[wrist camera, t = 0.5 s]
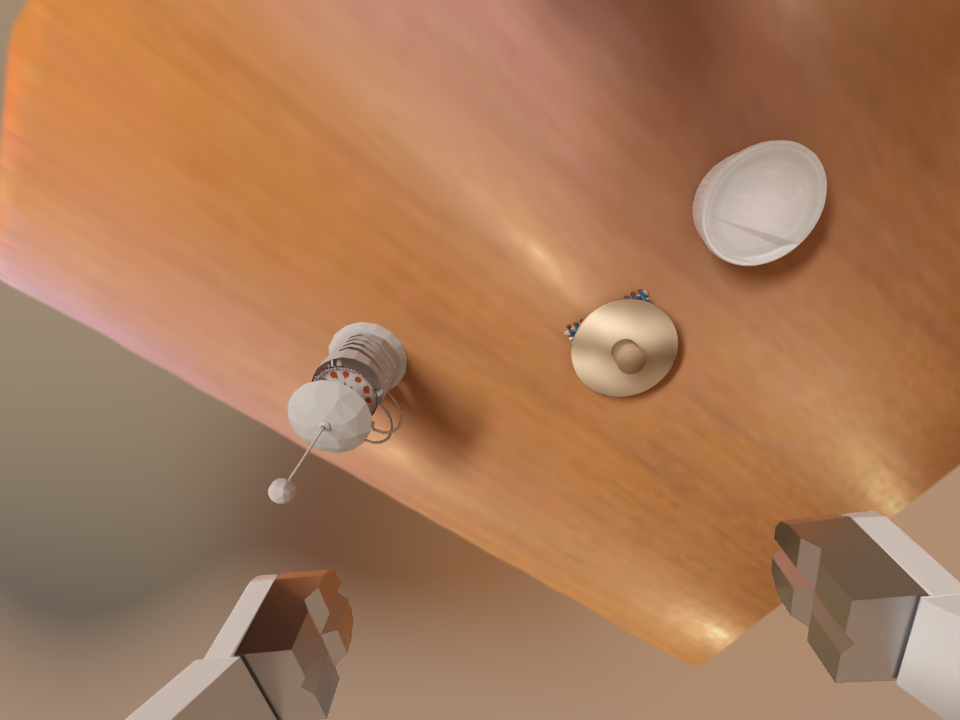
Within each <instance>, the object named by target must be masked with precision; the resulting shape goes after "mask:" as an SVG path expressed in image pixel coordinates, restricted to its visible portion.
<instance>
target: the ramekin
mask: <svg viewBox="0 0 960 720" xmlns="http://www.w3.org/2000/svg"><path fill="white" fill-rule="evenodd" d="M826 195H827V178H826V173H825V170H824V167H823V165H822V163H821V161H820V160H819V158H818V157H817V155H816V154H815V153H814V152H813V151H811V150H810V149H809V148H807V147H806V146H804V145H802V144H799V143H797V142H794V141H788V140H773V141H766V142H761V143H758V144H755V145H752V146H750V147H748V148H746V149H744V150H742V151H740V152H738V153H735V154H733V155H731V156H729V157H726V158H725V159H724V160H722V161H720V162H719V163H718V164H717V165H715V166H714V167H713V168H712V169H711V170H710V171H709V172H708V173H707V175H706V176H705V177H704V178H703V180H702V182H701V183H700V184H699V187H698V189H697V191H696V194H695V197H694V201H693V209H692V213H693V215H692V216H693V222H694V224H695V228H696V230H697V232H698V234H699V235H700V237H701V238H702V239H703V241H704V243H705V245H706V246H707V247H708V249H709V250H710V251H711V252H712V253H713V254H714V255H716V256H717V257H718V258H720V259H722V260H724V261H726V262H728V263H731V264H735V265H740V266H757V265H762V264H766V263H769V262H772V261H775V260H777V259H779V258H781V257H783V256H785V255H786V254H788V253H789V252H791V251H792V250H794V249H795V248H796V247H797V246H798V245H799V244H801V242H803V240H804V239H805V238H806V237H807V236H808V235H809V234H810V232H811V231H812V230H813V228H814V227H815V225H816V223H817V222H818V220H819V218H820V216H821V213H822V211H823V208H824V205H825V201H826Z"/></svg>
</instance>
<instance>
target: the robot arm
mask: <svg viewBox="0 0 960 720" xmlns="http://www.w3.org/2000/svg"><path fill="white" fill-rule="evenodd" d="M774 539H775V540H776V541H777V543H778V544H779V545H780V547H781V549H780V550H779V551H778V552H777V553H776V554H775V555H774V556H773V557H772V575H773V579H774V583H775V587H776V590H777V592H778V594H779V596H780V598H781V601H782V602H783V604H784V605H785V607H786V609H787V610H788V612H789V613H790V615H791V616H793V617H794V618H796V619H797V620H799V621H801V622H802V623H804V624H805V625H807V626H808V627H809V631H808V642H809V644H810V645H811V647H812V648H813V650H814V651H815V653H816V654H817V656H818V657H819V659H820V660H821V662H822V663H823V665H824V666H825V668H826V669H827V671H828V672H829V674H830V675H831V677H832V678H833V680H834V681H835V683H843V682H868V681H892V680H897V681H896V684H897V685H898V686H900V687H901V688H902V689H904V690H905V691H906V692H908V693H909V694H910V695H912V696H913V697H914V698H916V699H917V700H918V701H920V702H921V703H922V704H924V705H925V706H926V707H928V708H929V709H930V710H932V711H933V712H934V713H936V714H937V715H938V716H940V717H941V718H943V719H944V720H960V582H959V581H958V580H957V579H956V578H955V577H954V576H952V575H951V574H950V573H949V572H948V571H947V570H946V569H945V568H943V567H942V566H941V565H940V564H939V563H938V562H936V560H934V559H933V558H932V557H931V556H930V555H929V554H928V553H927V552H925V551H924V550H923V549H922V548H921V547H920V546H919V545H918V544H916V543H915V542H914V541H913V540H912V539H911V538H910V537H909V536H907V535H906V534H905V533H904V532H903V531H902V530H901V529H900V528H898V527H897V526H896V525H895V524H894V523H893V522H892V521H891V520H889V519H888V518H887V517H886V516H885V515H883V514H881V513H879V512H877V511H875V510H873V511H864V512H856V513H847V514H841V515H828V516H820V517H811V518H803V519H794V520H786V521H780V522H779V523H778V524H777V526H776V527H775V535H774ZM340 584H341V582H340V580H339V578H338V576H337V574H336V571H335V570H318V571H305V572H292V573H282V574H273V575H260V576H257V577H256V578H255V579H253V580H252V581H251V582H250V583H249V584H248V586H247V588H246V589H245V591H244V593H243V595H242V596H241V598H240V599H239V601H238V603H237V604H236V606H235V608H234V609H233V611H232V613H231V614H230V616H229V618H228V619H227V621H226V622H225V624H224V626H223V627H222V629H221V631H220V632H219V634H218V636H217V637H216V639H215V641H214V642H213V644H212V646H211V647H210V649H209V651H208V652H207V654H206V656H205V658H204V659H202V660H195V661H194V662H193V663H192V664H190V665H189V666H188V667H187V668H186V669H184V670H183V671H182V672H181V673H180V674H179V675H177V676H176V677H175V678H174V679H173V680H171V681H170V682H169V683H168V684H167V685H165V686H164V687H163V688H162V689H161V690H160V691H158V692H157V693H156V694H155V695H154V696H153V697H151V698H150V699H149V700H148V701H146V702H145V703H144V704H143V705H142V706H141V707H139V708H138V709H137V710H136V711H135V712H134V713H132V714H131V715H130V716H129V717H127V718H126V719H125V720H320V719H327V716H328V713H329V710H330V707H331V704H332V700H333V697H334V694H335V691H336V688H337V684H338V681H339V676H338V673H337V670H336V667H335V666H336V665H337V664H338V663H339V662H340V661H341V659H342V658H343V657H344V656H345V655H346V654H347V652H348V649H349V645H350V642H351V638H352V626H353V616H352V610H351V606H350V604H349V601H348V599H347V598H345V597H344V596H343V595H341V594H340V593H338V589H339V587H340Z"/></svg>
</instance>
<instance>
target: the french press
mask: <svg viewBox="0 0 960 720" xmlns="http://www.w3.org/2000/svg"><path fill="white" fill-rule="evenodd" d="M328 364H329V367H328V368H327V365H328ZM406 365H407V356H406V354H405V351H404V348H403V345H402V343H401V342H400V341H399V340H398V339H397V338H396V336H395V335H394V334H393V333H392V332H391V331H389V330H387V329H385V328H383V327H381V326H380V325H378V324H373V323H365V322H359V323H355V324H350V325H346V326H345V327H344V328H342V329H341V330H340V331H339V332H337V333H336V334H335V335H334V337H333V339H332V341H331V343H330V346H329V356H328V357H327V358H326V359H325V360H324V361H323V362H322V364H321V365H320V366H319V367H318V368H317V370H316V372H315V374H314V376H313V380H312V382H308V383H306V384H304V385H303V386H302V387H300V388H299V389H297V390H296V391H295V392H294V393H293V395H292V397H291V399H290V401H289V403H288V419H289V421H290V423H291V425H292V427H293V429H294V432H295V433H296V434H297V435H298V436H299V437H300V438H301V439H302V440H303V441H304V442H305V443H307V444H309V445H310V447H309V448H308V450H307V451H306V453H305V455H304V456H303V458H302V459H301V461H300V463H299V464H298V465H297V467H296V468H295V470H294V471H293V473H292V474H291V476H290V478H289V479H288V480H287V479H277V480H275V481H274V482H273V483H272V484H271V486H270V487H269V489H268V494H269V497H270V499H271V500H272V501H274V502H276V503H278V504H285V503H286V502H288V501H289V500H291V499H292V498H293V497H294V495H295V493H296V487H295V486H294V484H293V483H291V479H292V478H293V476H294V475H295V473H296V472H297V470H298V468H299V467H300V465H301V464H302V462H303V461H304V459H305V458H306V456H307V455H308V453H309V451H310V450H311V448H312V447H315V448H317V449H319V450H321V451H327V452H334V453H340V452H345V451H350V450H353V449H355V448H356V447H358V446H359V445H361V444H362V443H364V441H366V442H370V443H373V444H379V443H383V442H385V441H387V440H388V439H390V437H391V434H392V433H393V432H395V431H396V430H398V429H399V428H400V426H401V422H402V413H401V409H400V407H399V405H398V403H397V402H396V400H395V399H394V398H393V397H392V395H391V394H390V392H389V391H390V390H391V389H392V388H394V387H395V386H397V385H398V384H399V383H400V381H401V380H402V378H403V376H404V374H405V373H406ZM386 393H387V394H388V395H389V397H390V398H391V399H392V400H393V402H394V403H395V405H396V406H397V408H398V410H399V413H400V421H399V424H398V427H397V428H395V429H394V430H393V423H392V418H391V416H390V414H389V412H388V410H387V409H386V408H385V407H384V405H383V404H382V402H383V400H384V397H385V395H386ZM382 398H383V400H382ZM381 400H382V402H381ZM378 404H380V405H381V406H382V408H383V409H384V410H385V412H386V413H387V415H388V417H389V418H390V423H391V430H390V431H381V430H378V429H375V428H374V421H372V415H373V414H374V413H375V410H376V408H377V406H378ZM379 407H380V406H379ZM378 409H379V408H378ZM371 421H372V422H371ZM371 427H372V429H373V430H374V431H376V432H379V433H382V434H388V433H389V436H388V437H387V438H386V439H384V440H381V441H371V440H368V439H366V438H367V436H368V434H369V433H370V431H371Z"/></svg>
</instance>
